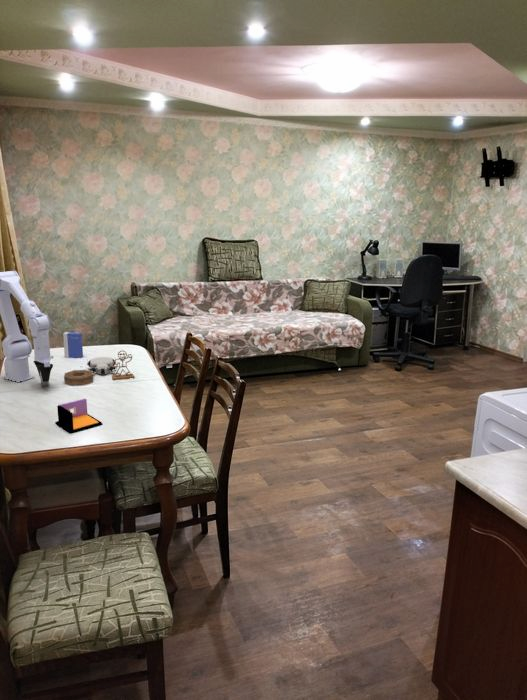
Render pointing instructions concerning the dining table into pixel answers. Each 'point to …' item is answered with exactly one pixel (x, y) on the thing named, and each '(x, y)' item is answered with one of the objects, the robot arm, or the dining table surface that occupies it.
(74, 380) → the walnut bead
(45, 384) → the metal cylinder
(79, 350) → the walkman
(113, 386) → the dining table surface
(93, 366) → the robot toy
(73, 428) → the dollhouse room
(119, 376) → the cartoon figure standee
